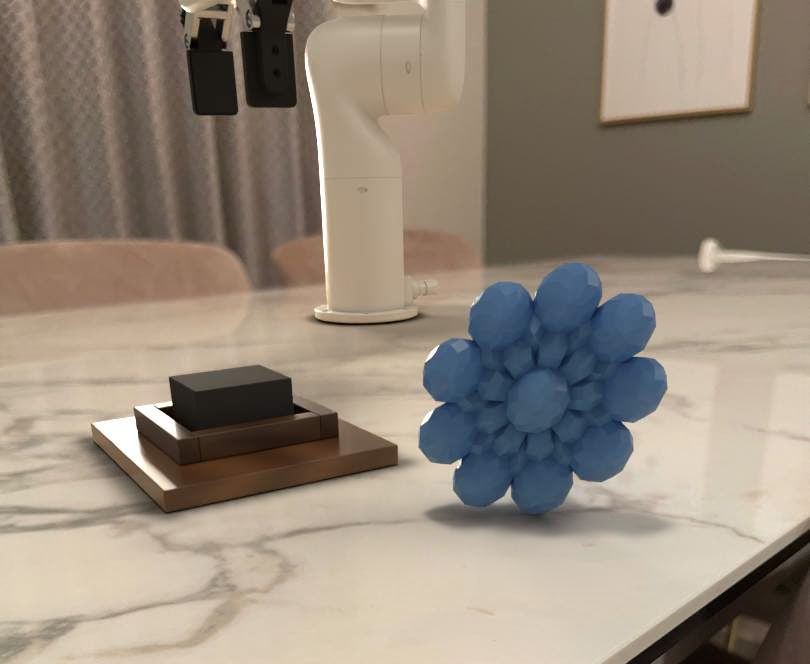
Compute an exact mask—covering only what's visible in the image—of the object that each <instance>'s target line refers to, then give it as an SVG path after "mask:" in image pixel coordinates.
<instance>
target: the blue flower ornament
mask: <svg viewBox="0 0 810 664" xmlns="http://www.w3.org/2000/svg"><path fill="white" fill-rule="evenodd" d="M602 298H603V285H602V281H601V278H600V275H599V273H598V272H597V271H596V270H595V269H594V268H593V267H591V266H590V265H589V264H585V263H582V262H565V263H564V264H562V265H560V266H558V267H556V268H554V269H553V270H552V271H550V272H549V273H547V274H546V275H545V276H544V277H543V278H542V280H541V281H540V284H539V285H538V287H537V289H536V291H535V294H534V297H533V298H532V296H531V294H530V292H529V290H527V289H526V288H525V287H524V286H523V284H521V283H519V282H515V281H497V282H495V283H494V284H493V283H492V284H491V285H490V286H487V287H486V288H485V289H483V290H482V291H481V292H480V293H479V294H478V295H476V297H475V299H474V301H473V302H472V304H471V306H470V307H469V311H468V315H467V333H468V334H469V336H470V338H471V339H468V338H462V337H461V338H460V337H450V338H448V339H447V340H445V341H443V342H441V343H439V344H438V345H437V346H436V347H435V348H433V349H432V350H431V351H430V353H429V355H428V356H427V358H426V360H425V361H424V364H423V368H422V369H423V370H422V386H423V387H424V389H425V390H426V392H427V393H428V394H429V396H430V397H431V398H432V399H433V400H434V401H435V402H439V403H443V404H441V405H438V406H437V407H435V408H434V409H432V410H431V411H430V412H428V413H426V415H425V417H424V418H423V420H422V422H421V423H420V425H419V428H418V434H417V445H418V446H417V447H418V449H419V450H420V452H421V453H422V454H423V455H424V456H425V458H426V459H427V460H428V461H429V463H432V464H439V465H453V464H454V463H456V462H457V461H459V462H458V464H457V465H456V467H455V469H454V472H453V476H452V491H453V492H454V494H455V495H456V496H457V498H458V499H459V500H460V501H461V502H462V503H463V505H465V506H468V507H473V508H486V507H488V506H491V505H492V504H494V503H496V502H497V501H499V500H501V499H502V498H504V497H505V496H506V494H507V492H508V491H509V489H510V497H511V499H512V500H513V502H514V503H515V505H516V506H517V507H518V508H519V509H520V510H521V512H523V513H526V514H532V515H545V514H547V513H549V512H552V511H553V510H556V509H557V508H558V507H560V506H561V505H562V504H564V503H565V501H566V499H567V497H568V495H569V493H570V492H571V490H572V487H573V485H574V475H576V477H577V479H579V480H580V481H585V482H589V483H603V482H605V481H607V480H610V479H612V478H614V477H615V476H617V475H618V474H620V473H621V472H623V470H624V468H625V467H626V465H627V464H628V462H629V460H630V458H631V456H632V455H633V453H634V450H635V449H634V437H633V434H632V432H631V430H630V429H629V428H628V427H627V426H626V425H625V424H624V423H630V424H634V423H637V422H638V421H641V420H642V419H644V418H646V417H648V416H649V415H651V414H652V413H654V412H655V411H657V409H658V407H659V405H660V404H661V402H662V400H663V398H664V397H665V394H666V392H667V391H668V388H669V387H668V377H667V373H666V369H665V367H664V365H662V364H661V363H660V362H659V361H658V360H657V359H656V358H654V357H653V358H651V357H647V356H636V355H637V354H639V353H641V352H642V351H645V348H646V347H647V345H648V344H649V341H650V340H651V338H652V336H653V334H654V332H655V329H656V328H657V319H656V311H655V308H654V305H653V303H651V301H650V300H649V299H648V298H646V297H645V296H644V295H642V294H638V293H634V292H633V293H632V292H631V293H630V292H629V293H626V292H625V293H622V292H621V293H618V294H617V295H615V296H613V297H611V298H608V300H606V301H605V302H603V303H602V304H600V303H601V301H602Z"/></svg>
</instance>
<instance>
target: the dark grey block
mask: <svg viewBox="0 0 810 664" xmlns="http://www.w3.org/2000/svg"><path fill="white" fill-rule="evenodd" d="M292 379H293V378H292V377H290V376H287V375H285V374H283V373H281V372H278V371H275V370H273V369H271V368H269V367H267V366H264V365H261V364H253V365H246V366H237V367H229V368H223V369H215V370H209V371H208V370H207V371H201V372H194V373H185V374H178V375H177V374H176V375H170V376H168V383H169V391H170V399H171V402H172V407H173V415H174V421H176V422H177V423H179V424H180V425H182V426H183V427H185V428H186V429H187V430H189V431H190V432H193V431H199V430H205V429H211V428H217V427H223V426H229V425H235V424H241V423H247V422H253V421H259V420H265V419H271V418H277V417H283V416H289V415H294V406H293V393H294V392H293V381H292Z"/></svg>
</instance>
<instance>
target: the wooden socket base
mask: <svg viewBox="0 0 810 664" xmlns="http://www.w3.org/2000/svg"><path fill="white" fill-rule="evenodd" d="M293 406H294V415H289V416H283V417H277V418H271V419H265V420H259V421H253V422H247V423H241V424H235V425H229V426H223V427H217V428H211V429H205V430H199V431H193V432H190V431H189V430H187V429H186V428H185V427H183V426H182V425H180V424H179V423H177V422H176V421H174V415H173V407H172V401H167V402H160V403H154V404H146V405H140V406H134V407H133V416H130V417H124V418H117V419H110V420H104V421H97V422H92V423H90V429H91V435H92V440H93V441H94V443H95V444H97V445H98V446H99V447H100V448H101V449H102V450H103V451H104V452H105V453H106V454H107V455H108V456H109V457H110V458H111V459H112V460H113V461H114V462H115V463H116V464H117V465H118V466H119V467H120V468H121V469H122V470H123V471H124V472H125V473H126V474H127V475H128V476H129V477H130V478H131V479H132V481H134V482H135V483H136V484H137V485H138V486H139V487H140V488H141V489H142V490H143V491H144V492H145V493H146V494H147V495H148V496H149V497H150V498H151V499H152V500H153V501H154V502H156V504H157V505H159V506H160V508H161V509H163V510H164V511H165V513H171V512H172V513H173V512H176V511H180V510H186V509H190V508H195V507H200V506H203V505H211V504H213V503H218V502H224V501H229V500H232V499H233V500H234V499H237V498H242V497H248V496H250V495H256V494H261V493H266V492H270V491H276V490H280V489H285V488H289V487H294V486H300V485H303V484H309V483H313V482H319V481H322V480H323V481H324V480H327V479H333V478H337V477H341V476H342V477H343V476H347V475H352V474H357V473H360V472H366V471H371V470H375V469H380V468H384V467H389V466H394V465H398V464H399V445H398V444H396V443H395V442H392V441H390V440H388V439H385V438H383V437H381V436H379V435H378V434H375V433H373V432H371V431H368V430H366V429H365V428H362V427H360V426H357V425H355V424H353V423H351V422H349V421H346V420H344V419H343V418H340V417H339V413H338V412H337V411H335V410H333V409H331V408H329V407H326V406H324V405H322V404H319V403H318V402H315V401H314V400H313V401H312V400H311V399H309V398H306V397H304V396H301V395H300V394H297V393H295V392H293Z"/></svg>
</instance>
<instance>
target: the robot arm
mask: <svg viewBox="0 0 810 664" xmlns="http://www.w3.org/2000/svg"><path fill="white" fill-rule="evenodd" d="M332 1H333V2H335V3H339V4H343V5H381V4H383V5H384V4H402V3H404V4H405V3H415V4H418V5H420V6H421V8H422V9H423V13H415V14H395V15H386V14H374V15H373V14H371V15H353V16H344V17H337V18H333V19H329V20H326V21H324V22H322V23H320V24H319V25H317V26H316V27H314V29H313V30H312V31H311V32H310V34H309V36H308V37H307V40H306V44H305V49H304V66H305V73H306V79H307V84H308V89H309V93H310V99H311V105H312V110H313V116H314V122H315V123H314V124H315V130H316V140H317V151H318V152H317V153H318V165H319V166H318V167H319V184H320V186H319V187H320V204H321V220H322V221H321V222H322V241H323V256H324V257H323V258H324V259H323V260H324V274H325V293H326V303H324V304H321V305H320V304H319V305H317V306H316V307H315V308H314V317H315V318H316V319H317V320H320V321H324V322H327V323H328V322H329V323H340V324H377V323H388V322H396V321H397V322H398V321H403V320H408V319H412V318H414V317H416V316H417V315H418V314H419V313H418V312H419V311H418V308H419V307H418V305H417V304H416V303H414V302H413V300H416V299H417V298H418V297H421V296H422V297H427V296H429V297H430V296H436V295H437V294H438V293H439V290H440V287H439V282H438V280H437V279H435V278H432V279H431V278H430V279H422V280H418V281H417V280H416V279H414V278H413V276H411V275H406V274H405V253H404V252H405V251H404V250H405V249H404V246H405V245H404V244H405V243H404V203H403V201H404V199H403V197H404V196H403V161H402V158H401V157H402V156H401V154H400V152H399V149H398V148H397V145H396V144H395V143H394V141H393V139H391V137H390V136H389V135H388V134H387V132H386V131H385V130H384V129H383V128H382V126H381V125H380V123H379V120H378V119H379V118H380V117H384V116H390V115H418V114H422V115H423V114H436V113H437V114H438V113H444V112H447V111H450V110H452V109H454V108H455V107H456V106H457V105H458V104H459V102H460V100H461V98H462V95H463V91H464V87H465V76H466V0H332ZM293 2H294V0H178V4H179V7H180V11H181V13H180V15H179V17H180V19H179V20H180V21H179V23H180V24H181V25H182V28H183V39H182V40H183V41H182V42H183V47H184V49H185V52H186V54H185V55H186V63H187V73H188V81H189V90H190V97H191V98H190V99H191V107H192V112H193V114H194V115H195V116H199V117H218V116H220V117H224V116H225V117H231V116H232V117H234V116H236V115H238V113H239V102H238V91H237V81H236V79H237V78H236V71H235V60H234V51H231V50H227V49H228V43H229V37H230V30H231V24H232V18H233V12H234V9H235V11H236V13H237V15H238V16H240V17H241V18H242V20H243V23H244V25H245V28H246V30H247V31H245V30H243V31H240V32H239V38H240V49H241V59H242V73H243V83H244V95H245V102H246V105H247V106H248V107H249V108H251V109H292V108H295V107H296V106H297V103H298V95H297V94H298V93H297V92H298V91H297V79H296V64H295V50H294V49H295V47H294V34H293V33H294V31H295V28H296V16H295V13H294V10H293V8H292V7H293ZM212 19H213V20H215V25H214V23H213V20H212Z"/></svg>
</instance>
